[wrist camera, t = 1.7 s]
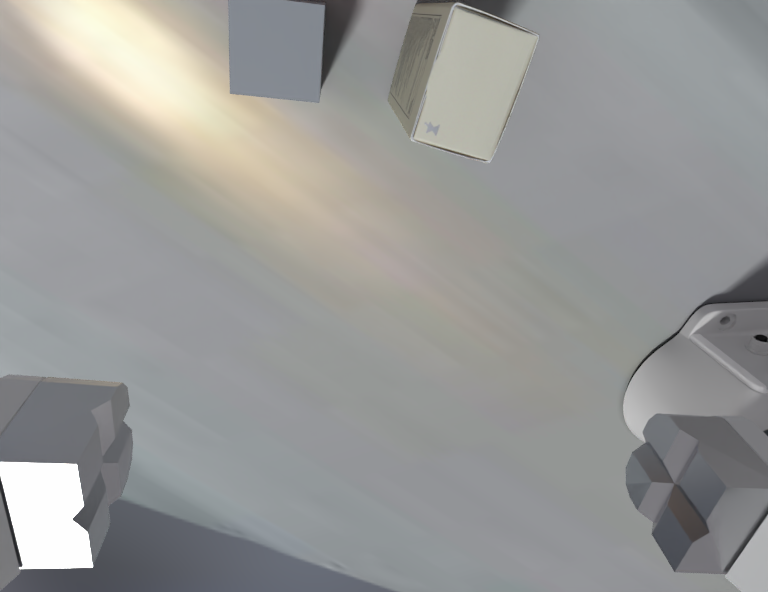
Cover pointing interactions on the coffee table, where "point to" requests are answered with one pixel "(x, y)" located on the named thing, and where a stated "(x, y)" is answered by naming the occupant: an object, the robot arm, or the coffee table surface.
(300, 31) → the slate cube
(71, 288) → the coffee table surface
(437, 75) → the skincare box
